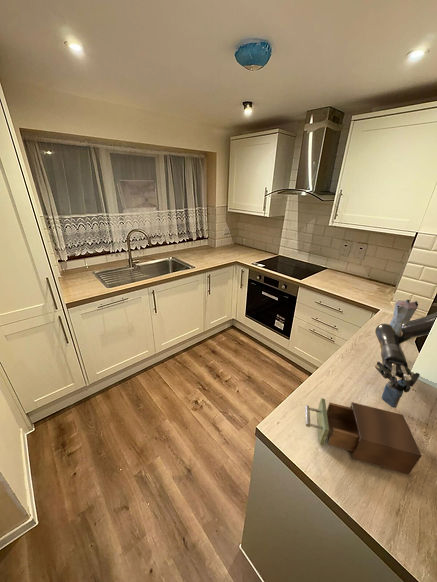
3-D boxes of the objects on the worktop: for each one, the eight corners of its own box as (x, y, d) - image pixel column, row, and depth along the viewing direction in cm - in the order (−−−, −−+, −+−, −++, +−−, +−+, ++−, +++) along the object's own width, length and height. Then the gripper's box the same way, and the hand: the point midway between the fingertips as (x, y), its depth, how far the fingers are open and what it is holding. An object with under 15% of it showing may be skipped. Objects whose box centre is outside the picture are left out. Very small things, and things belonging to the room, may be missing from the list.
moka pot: (378, 329, 132) (391, 297, 123) (397, 324, 137) (410, 293, 129) (395, 338, 124) (410, 306, 115) (414, 333, 129) (429, 301, 121)
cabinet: (352, 458, 69) (361, 438, 65) (344, 420, 80) (351, 402, 76) (408, 475, 66) (422, 455, 62) (392, 433, 77) (402, 414, 73)
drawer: (303, 439, 73) (308, 424, 70) (302, 409, 83) (306, 394, 80) (368, 458, 68) (376, 443, 65) (359, 423, 78) (365, 409, 75)
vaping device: (394, 409, 82) (403, 384, 77) (379, 398, 86) (387, 374, 81) (399, 406, 83) (408, 381, 78) (384, 395, 87) (392, 371, 82)
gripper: (375, 344, 93) (380, 373, 79) (418, 355, 87) (432, 388, 73) (369, 358, 96) (373, 389, 82) (411, 370, 91) (422, 405, 77)
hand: (401, 388), depth 78 cm, fingers closed on vaping device, 2 cm apart
